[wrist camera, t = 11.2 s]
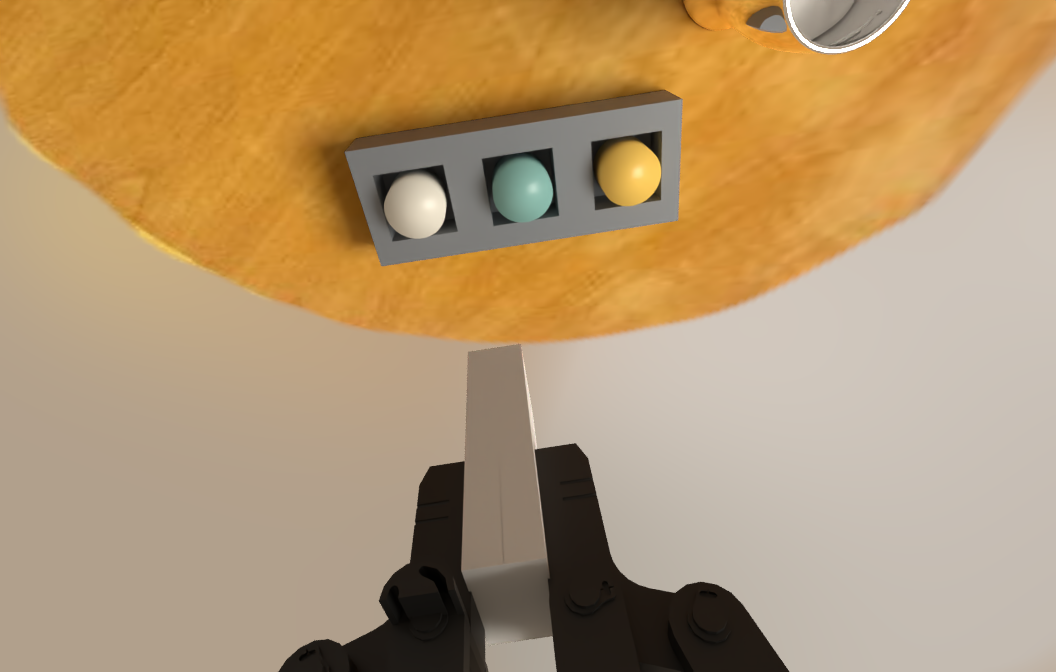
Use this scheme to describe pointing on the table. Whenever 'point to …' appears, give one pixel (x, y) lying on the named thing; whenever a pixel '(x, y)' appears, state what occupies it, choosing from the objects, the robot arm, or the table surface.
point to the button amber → (626, 170)
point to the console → (479, 145)
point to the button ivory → (416, 203)
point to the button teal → (521, 187)
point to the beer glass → (800, 21)
